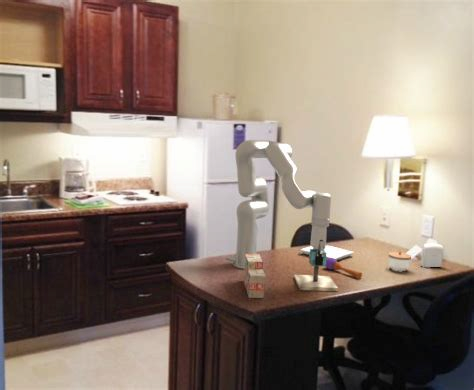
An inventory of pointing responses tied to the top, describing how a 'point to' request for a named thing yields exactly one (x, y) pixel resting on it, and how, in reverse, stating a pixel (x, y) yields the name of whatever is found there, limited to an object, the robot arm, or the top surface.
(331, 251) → the salad plate
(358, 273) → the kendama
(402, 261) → the lidded jar
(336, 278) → the top surface
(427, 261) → the photo printer
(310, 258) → the open box
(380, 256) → the top surface
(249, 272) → the stack of blocks
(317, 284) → the cream peg stand
